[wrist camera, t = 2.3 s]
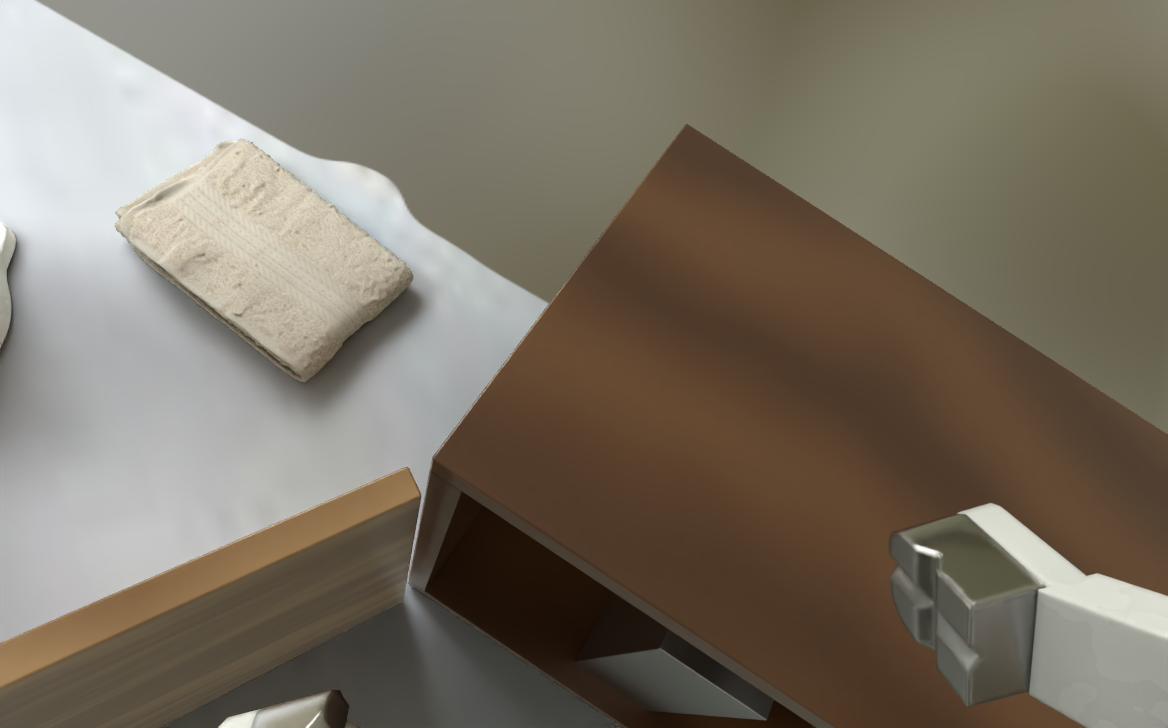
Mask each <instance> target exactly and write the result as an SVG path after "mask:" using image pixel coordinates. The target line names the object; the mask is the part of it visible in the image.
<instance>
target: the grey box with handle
mask: <svg viewBox="0 0 1168 728" xmlns="http://www.w3.org/2000/svg"><path fill="white" fill-rule="evenodd" d="M575 662H576V663H578V664H579V665H581V666H582V667H584V668H585V669H587V670H588V671H590V672H591V673H593V674H594V675H596V676H597V677H599V678H600V679H602V680H603V681H605V682H606V683H608V684H609V685H611V686H612V687H614V688H615V689H617V690H618V691H620V692H621V693H622V694H624V695H625V696H627V697H628V698H630V699H631V700H633V701H634V702H636V703H637V704H639V705H640V706H642V707H643V708H645V709H646V710H648V711H657V712H670V713H682V714H694V715H707V716H719V717H731V718H743V719H756V720H767V718H768V715H769V712H770V710H771V707H772V704H773V701H774V699H773V698H771V697H770V696H768V695H767V694H765V693H764V692H762V691H761V690H759V689H758V688H756V687H755V686H753V685H752V684H750V683H749V682H747V681H746V680H744V679H743V678H741V677H740V676H738V675H737V674H735V673H734V672H732V671H731V670H729V669H728V668H726V667H725V666H723V665H722V664H720V663H719V662H717V661H716V660H714V659H713V658H711V657H710V656H708V655H707V654H705V653H704V652H702V651H701V650H699V649H698V648H696V647H695V646H693V645H692V644H690V643H689V642H687V641H686V640H684V639H683V638H681V637H680V636H678V635H677V634H675V633H674V632H672V631H671V630H669V629H668V628H666V627H665V626H663V625H662V624H660V623H659V622H657V621H656V620H654V619H653V618H651V617H650V616H648V615H647V614H645V613H644V612H642V611H641V610H639V609H638V608H636V607H635V606H633V605H632V604H630V603H629V602H627V601H626V600H624V599H623V598H621V597H620V596H618V595H617V594H615V593H614V592H612V593H611V595H610V596H609V598H608V600H607V602H606V604H605V606H604V608H603V610H602V612H601V614H600V615H599V617H598V619H597V621H596V623H595V625H594V627H593V629H592V631H591V633H590V634H589V636H588V638H587V640H586V642H585V644H584V646H583V648H582V650H581V652H580V653H579V655H578V657H577V659H576V661H575Z"/></svg>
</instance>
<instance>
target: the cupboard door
mask: <svg viewBox="0 0 1168 728" xmlns="http://www.w3.org/2000/svg"><path fill="white" fill-rule="evenodd" d="M420 500H421V493H420V491H419V489H418V486H417V484H416V482H415V480H414V478H413V476H412V474H411V471H410V469H409V468H408V467H405V468H402V469H400V470H398V471H396V472H393V473H391V474H389V475H386V476H384V477H382V478H379V479H377V480H375V481H373V482H370V483H368V484H366V485H363V486H361V487H359V488H356V489H354V490H352V491H349V492H347V493H345V494H343V495H340V496H338V497H336V498H333V499H331V500H329V501H326V502H324V503H322V504H320V505H317V506H315V507H313V508H310V509H308V510H306V511H303V512H301V513H299V514H297V515H294V516H292V517H290V518H287V519H285V520H283V521H280V522H278V523H276V524H273V525H271V526H269V527H267V528H264V529H262V530H260V531H257V532H255V533H253V534H250V535H248V536H246V537H244V538H241V539H239V540H237V541H234V542H232V543H230V544H227V545H225V546H223V547H220V548H218V549H216V550H214V551H211V552H209V553H207V554H204V555H202V556H200V557H197V558H195V559H193V560H191V561H188V562H186V563H184V564H181V565H179V566H177V567H174V568H172V569H170V570H168V571H165V572H163V573H161V574H158V575H156V576H154V577H151V578H149V579H147V580H144V581H142V582H140V583H138V584H135V585H133V586H131V587H128V588H126V589H124V590H121V591H119V592H117V593H115V594H112V595H110V596H108V597H105V598H103V599H101V600H98V601H96V602H94V603H91V604H89V605H87V606H85V607H82V608H80V609H78V610H75V611H73V612H71V613H68V614H66V615H64V616H62V617H59V618H57V619H55V620H52V621H50V622H48V623H45V624H43V625H41V626H38V627H36V628H34V629H32V630H29V631H27V632H25V633H22V634H20V635H18V636H15V637H13V638H11V639H9V640H6V641H4V642H2V643H0V728H161V727H163V726H165V725H166V724H168V723H170V722H172V721H174V720H176V719H178V718H180V717H182V716H184V715H186V714H188V713H190V712H191V711H193V710H195V709H197V708H199V707H201V706H203V705H205V704H207V703H209V702H211V701H213V700H214V699H216V698H218V697H220V696H222V695H224V694H226V693H228V692H230V691H232V690H234V689H236V688H238V687H239V686H241V685H243V684H245V683H247V682H249V681H251V680H253V679H255V678H257V677H259V676H261V675H262V674H264V673H266V672H268V671H270V670H272V669H274V668H276V667H278V666H280V665H282V664H284V663H286V662H287V661H289V660H291V659H293V658H295V657H297V656H299V655H301V654H303V653H305V652H307V651H309V650H310V649H312V648H314V647H316V646H318V645H320V644H322V643H324V642H326V641H328V640H330V639H332V638H334V637H335V636H337V635H339V634H341V633H343V632H345V631H347V630H349V629H351V628H353V627H355V626H357V625H358V624H360V623H362V622H364V621H366V620H368V619H370V618H372V617H374V616H376V615H378V614H380V613H382V612H383V611H385V610H387V609H389V608H391V607H393V606H395V605H397V604H399V603H401V602H403V599H404V593H405V587H406V582H407V576H408V570H409V564H410V558H411V553H412V547H413V541H414V535H415V529H416V524H417V518H418V512H419V506H420Z"/></svg>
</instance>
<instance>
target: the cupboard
mask: <svg viewBox="0 0 1168 728" xmlns="http://www.w3.org/2000/svg"><path fill="white" fill-rule="evenodd" d="M989 503H993V504H996V505H999V506H1001V507H1002V508H1003V509H1005V510H1006V511H1007V512H1008V513H1009V514H1011V515H1012V516H1013V517H1014V518H1016V519H1017V520H1018V521H1019V522H1021V523H1022V524H1023V525H1024V526H1026V527H1027V528H1028V529H1029V530H1031V531H1032V532H1033V533H1034V534H1035V535H1037V536H1038V537H1039V538H1040V539H1042V540H1043V541H1044V542H1045V543H1047V544H1048V545H1049V546H1050V547H1052V548H1053V549H1054V550H1055V551H1057V552H1058V553H1059V554H1060V555H1061V556H1063V557H1064V558H1065V559H1066V560H1068V561H1069V562H1070V563H1071V564H1073V565H1074V566H1075V567H1076V568H1078V569H1079V570H1080V571H1081V572H1083V573H1084V574H1085V575H1086V576H1088V575H1092V574H1096V573H1098V574H1101V575H1104V576H1108V577H1111V578H1114V579H1117V580H1120V581H1123V582H1126V583H1129V584H1132V585H1135V586H1138V587H1141V588H1144V589H1148V590H1151V591H1154V592H1157V593H1160V594H1163V595H1166V596H1168V434H1166V433H1164V432H1163V431H1162V430H1160V429H1158V428H1157V427H1155V426H1154V425H1152V424H1151V423H1149V422H1147V421H1146V420H1144V419H1143V418H1141V417H1140V416H1138V415H1137V414H1135V413H1134V412H1132V411H1131V410H1129V409H1127V408H1126V407H1124V406H1123V405H1121V404H1120V403H1118V402H1116V401H1115V400H1114V399H1112V398H1110V397H1109V396H1107V395H1106V394H1104V393H1103V392H1101V391H1100V390H1098V389H1097V388H1095V387H1093V386H1092V385H1090V384H1089V383H1087V382H1086V381H1084V380H1082V379H1081V378H1079V377H1078V376H1076V375H1075V374H1073V373H1072V372H1070V371H1069V370H1067V369H1066V368H1064V367H1062V366H1061V365H1059V364H1058V363H1056V362H1055V361H1053V360H1052V359H1050V358H1048V357H1047V356H1045V355H1044V354H1042V353H1041V352H1039V351H1038V350H1036V349H1035V348H1033V347H1032V346H1030V345H1028V344H1027V343H1025V342H1024V341H1022V340H1021V339H1019V338H1018V337H1016V336H1014V335H1013V334H1011V333H1010V332H1008V331H1007V330H1005V329H1004V328H1002V327H1001V326H999V325H997V324H996V323H994V322H993V321H991V320H990V319H988V318H987V317H985V316H984V315H982V314H980V313H979V312H977V311H976V310H974V309H973V308H971V307H970V306H968V305H967V304H965V303H963V302H962V301H960V300H959V299H957V298H956V297H954V296H953V295H951V294H950V293H948V292H946V291H945V290H943V289H942V288H940V287H939V286H937V285H936V284H934V283H933V282H931V281H929V280H928V279H926V278H925V277H923V276H922V275H920V274H919V273H917V272H915V271H914V270H912V269H911V268H909V267H908V266H906V265H905V264H903V263H901V262H900V261H898V260H897V259H895V258H894V257H892V256H891V255H889V254H888V253H886V252H884V251H883V250H881V249H880V248H878V247H877V246H875V245H874V244H872V243H870V242H869V241H867V240H866V239H864V238H863V237H861V236H860V235H858V234H857V233H855V232H853V231H852V230H851V229H849V228H847V227H846V226H844V225H843V224H841V223H840V222H838V221H837V220H835V219H833V218H832V217H830V216H829V215H827V214H826V213H824V212H823V211H821V210H820V209H818V208H816V207H815V206H813V205H812V204H810V203H809V202H807V201H806V200H804V199H803V198H801V197H799V196H798V195H796V194H795V193H793V192H792V191H790V190H789V189H787V188H786V187H784V186H782V185H781V184H779V183H778V182H776V181H774V180H773V179H772V178H770V177H769V176H767V175H765V174H764V173H762V172H761V171H759V170H758V169H756V168H755V167H753V166H751V165H750V164H748V163H747V162H745V161H744V160H742V159H741V158H739V157H738V156H736V155H734V154H733V153H731V152H729V151H728V150H727V149H725V148H724V147H722V146H721V145H719V144H717V143H716V142H714V141H713V140H711V139H710V138H708V137H707V136H705V135H703V134H702V133H700V132H699V131H697V130H696V129H694V128H693V127H691V126H689V125H688V124H686V125H685V126H684V127H683V128H682V130H681V131H680V132H679V134H678V135H677V136H676V138H675V139H674V140H673V141H672V143H671V144H670V145H669V147H668V148H667V149H666V151H665V152H664V153H663V155H662V156H661V157H660V159H659V160H658V161H657V163H656V164H655V165H654V167H653V168H652V169H651V170H650V172H649V173H648V174H647V176H646V177H645V178H644V180H643V181H642V182H641V184H640V185H639V186H638V188H637V189H636V190H635V191H634V193H633V194H632V195H631V197H630V198H629V199H628V201H627V202H626V203H625V205H624V206H623V207H622V209H621V210H620V211H619V213H618V214H617V215H616V216H615V218H614V219H613V221H612V222H611V223H610V225H609V226H608V227H607V228H606V230H605V231H604V232H603V234H602V235H601V236H600V238H599V239H598V240H597V242H596V243H595V244H594V245H593V247H592V248H591V249H590V251H589V252H588V253H587V255H586V256H585V257H584V259H583V260H582V261H581V263H580V264H579V265H578V266H577V268H576V269H575V271H574V272H573V273H572V274H571V276H570V277H569V278H568V280H567V281H566V282H565V284H564V285H563V286H562V288H561V289H560V291H558V293H557V294H556V296H555V297H554V298H553V300H552V301H551V302H550V303H549V305H548V306H547V307H546V309H545V310H544V311H543V313H542V314H541V315H540V316H539V318H538V319H537V320H536V322H535V323H534V324H533V326H532V327H531V328H530V330H529V331H528V332H527V334H526V335H525V336H524V338H523V339H522V340H521V341H520V343H519V344H518V345H517V347H516V348H515V349H514V351H513V352H512V353H511V355H510V356H509V357H508V359H507V360H506V361H505V363H504V364H503V365H502V366H501V368H500V369H499V370H498V372H497V373H496V374H495V376H494V377H493V378H492V380H491V381H490V382H489V384H488V385H487V386H486V388H485V389H484V390H483V391H482V393H481V394H480V395H479V397H478V398H477V399H476V401H475V402H474V403H473V405H472V406H471V407H470V409H469V410H468V411H467V413H466V414H465V415H464V416H463V418H462V419H461V420H460V422H459V423H458V424H457V426H456V427H455V428H454V430H453V431H452V432H451V434H450V435H449V436H448V438H447V439H446V440H445V441H444V443H443V444H442V445H441V447H440V448H439V449H438V451H437V452H436V453H435V455H434V456H433V458H432V463H431V468H430V472H429V477H428V482H427V488H426V493H425V498H424V503H423V509H422V514H421V519H420V524H419V530H418V535H417V540H416V545H415V550H414V556H413V561H412V566H411V571H410V577H409V582H408V584H410V585H411V586H413V587H414V588H416V589H417V590H419V591H420V592H421V593H423V594H424V595H426V596H427V597H429V598H430V599H432V600H433V601H435V602H436V603H438V604H439V605H441V606H442V607H444V608H445V609H447V610H448V611H450V612H451V613H453V614H454V615H456V616H457V617H459V618H460V619H462V620H463V621H465V622H466V623H468V624H469V625H471V626H472V627H474V628H475V629H476V630H478V631H479V632H481V633H482V634H484V635H485V636H487V637H488V638H490V639H491V640H493V641H494V642H496V643H497V644H499V645H500V646H502V647H503V648H505V649H506V650H508V651H509V652H511V653H512V654H514V655H515V656H517V657H518V658H520V659H521V660H523V661H524V662H526V663H527V664H529V665H530V666H531V667H533V668H534V669H536V670H537V671H539V672H540V673H542V674H543V675H545V676H546V677H548V678H549V679H551V680H552V681H554V682H555V683H557V684H558V685H560V686H561V687H563V688H564V689H566V690H567V691H569V692H570V693H572V694H573V695H575V696H576V697H578V698H579V699H581V700H582V701H584V702H585V703H587V704H588V705H589V706H591V707H592V708H594V709H595V710H597V711H598V712H600V713H601V714H603V715H604V716H606V717H607V718H609V719H610V720H612V721H613V722H615V723H616V724H618V725H619V726H621V727H622V728H1086V727H1084V726H1082V725H1081V724H1079V723H1077V722H1075V721H1074V720H1072V719H1070V718H1068V717H1067V716H1065V715H1063V714H1061V713H1060V712H1058V711H1056V710H1054V709H1053V708H1051V707H1049V706H1047V705H1046V704H1044V703H1042V702H1040V701H1039V700H1037V699H1035V698H1033V697H1032V696H1030V695H1029V691H1028V692H1025V693H1021V694H1017V695H1013V696H1009V697H1006V698H1002V699H998V700H994V701H990V702H987V703H983V704H979V705H975V706H971V707H967V706H966V705H965V704H964V702H963V701H962V700H961V698H960V697H959V696H958V695H957V693H956V692H955V691H954V690H953V688H952V687H951V686H950V685H949V683H948V682H947V681H946V679H945V678H944V677H943V676H942V674H941V673H940V672H939V671H938V669H937V668H936V651H935V650H932V649H930V648H928V647H926V646H924V645H922V644H920V643H917V642H916V641H915V640H914V638H913V637H912V636H911V634H910V633H909V632H908V630H907V629H906V628H905V626H904V624H903V622H902V621H901V619H900V617H899V615H898V614H897V611H896V608H895V605H894V602H893V599H892V596H891V588H890V576H891V574H892V573H893V571H894V570H895V568H896V567H897V565H898V564H897V563H896V561H895V560H894V559H893V558H892V557H891V556H890V554H889V538H890V535H891V533H892V532H893V531H897V530H900V529H904V528H907V527H910V526H914V525H917V524H921V523H924V522H927V521H931V520H934V519H938V518H941V517H945V516H948V515H951V514H957V513H958V512H961V511H965V510H968V509H972V508H975V507H978V506H982V505H985V504H989ZM612 592H614V593H615V594H617V595H618V596H620V597H621V598H623V599H624V600H626V601H627V602H629V603H630V604H632V605H633V606H635V607H636V608H638V609H639V610H641V611H642V612H644V613H645V614H647V615H648V616H650V617H651V618H653V619H654V620H656V621H657V622H659V623H660V624H662V625H663V626H665V627H666V628H668V629H669V630H671V631H672V632H674V633H675V634H677V635H678V636H680V637H681V638H683V639H684V640H686V641H687V642H689V643H690V644H692V645H693V646H695V647H696V648H698V649H699V650H701V651H702V652H704V653H705V654H707V655H708V656H710V657H711V658H713V659H714V660H716V661H717V662H719V663H720V664H722V665H723V666H725V667H726V668H728V669H729V670H731V671H732V672H734V673H735V674H737V675H738V676H740V677H741V678H743V679H744V680H746V681H747V682H749V683H750V684H752V685H753V686H755V687H756V688H758V689H759V690H761V691H762V692H764V693H765V694H767V695H768V696H770V697H771V698H773V699H774V701H773V704H772V707H771V710H770V712H769V715H768V718H767V720H756V719H743V718H731V717H719V716H707V715H694V714H682V713H670V712H657V711H648V710H646V709H645V708H643V707H642V706H640V705H639V704H637V703H636V702H634V701H633V700H631V699H630V698H628V697H627V696H625V695H624V694H622V693H621V692H620V691H618V690H617V689H615V688H614V687H612V686H611V685H609V684H608V683H606V682H605V681H603V680H602V679H600V678H599V677H597V676H596V675H594V674H593V673H591V672H590V671H588V670H587V669H585V668H584V667H582V666H581V665H579V664H578V663H576V662H575V661H576V659H577V657H578V655H579V653H580V652H581V650H582V648H583V646H584V644H585V642H586V640H587V638H588V636H589V634H590V633H591V631H592V629H593V627H594V625H595V623H596V621H597V619H598V617H599V615H600V614H601V612H602V610H603V608H604V606H605V604H606V602H607V600H608V598H609V596H610V595H611V593H612Z"/></svg>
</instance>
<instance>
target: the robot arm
mask: <svg viewBox="0 0 1168 728" xmlns="http://www.w3.org/2000/svg"><path fill="white" fill-rule="evenodd" d="M15 245H16V237H15V235H14V233H13V232H12V231H11V230H10V229H9V228H8V227H6V226H5V225H4V224H3V223H1V222H0V348H1V346H2V344H3V342H4V340H5V337H6V335H7V332H8V328H9V325H10V320H11V297H10V292H9V287H8V283H7V268H8V266H9V263H10V261H11V258H12V255H13V253H14V249H15ZM889 554H890V556H891V557H892V558H893V559H894V560H895V561H896V563H897V564H898V565H897V567H896V568H895V570H894V571H893V573H892V574H891V576H890V588H891V596H892V599H893V602H894V605H895V608H896V611H897V614H898V615H899V617H900V619H901V621H902V622H903V624H904V626H905V628H906V629H907V630H908V632H909V633H910V634H911V636H912V637H913V638H914V640H915V641H916V642H917V643H920V644H922V645H924V646H926V647H928V648H930V649H932V650H935V651H936V668H937V669H938V671H939V672H940V673H941V674H942V676H943V677H944V678H945V679H946V681H947V682H948V683H949V685H950V686H951V687H952V688H953V690H954V691H955V692H956V693H957V695H958V696H959V697H960V698H961V700H962V701H963V702H964V704H965V705H966V706H967V707H971V706H975V705H979V704H983V703H987V702H990V701H994V700H998V699H1002V698H1006V697H1009V696H1013V695H1017V694H1021V693H1025V692H1028V691H1029V695H1030V696H1032V697H1033V698H1035V699H1037V700H1039V701H1040V702H1042V703H1044V704H1046V705H1047V706H1049V707H1051V708H1053V709H1054V710H1056V711H1058V712H1060V713H1061V714H1063V715H1065V716H1067V717H1068V718H1070V719H1072V720H1074V721H1075V722H1077V723H1079V724H1081V725H1082V726H1084V727H1086V728H1168V596H1166V595H1163V594H1160V593H1157V592H1154V591H1151V590H1148V589H1144V588H1141V587H1138V586H1135V585H1132V584H1129V583H1126V582H1123V581H1120V580H1117V579H1114V578H1111V577H1108V576H1104V575H1101V574H1098V573H1096V574H1092V575H1088V576H1086V575H1085V574H1084V573H1083V572H1081V571H1080V570H1079V569H1078V568H1076V567H1075V566H1074V565H1073V564H1071V563H1070V562H1069V561H1068V560H1066V559H1065V558H1064V557H1063V556H1061V555H1060V554H1059V553H1058V552H1057V551H1055V550H1054V549H1053V548H1052V547H1050V546H1049V545H1048V544H1047V543H1045V542H1044V541H1043V540H1042V539H1040V538H1039V537H1038V536H1037V535H1035V534H1034V533H1033V532H1032V531H1031V530H1029V529H1028V528H1027V527H1026V526H1024V525H1023V524H1022V523H1021V522H1019V521H1018V520H1017V519H1016V518H1014V517H1013V516H1012V515H1011V514H1009V513H1008V512H1007V511H1006V510H1005V509H1003V508H1002V507H1001V506H999V505H996V504H993V503H989V504H985V505H982V506H978V507H975V508H972V509H968V510H965V511H961V512H958V513H957V514H951V515H948V516H945V517H941V518H938V519H934V520H931V521H927V522H924V523H921V524H917V525H914V526H910V527H907V528H904V529H900V530H897V531H893V532H892V533H891V535H890V538H889ZM348 710H349V705H348V703H347V702H346V700H345V698H344V697H343V695H342V693H341V692H340V690H330V691H326V692H322V693H318V694H314V695H311V696H307V697H303V698H299V699H295V700H291V701H287V702H283V703H279V704H275V705H271V706H267V707H263V709H259V710H255V711H251V712H247V713H243V714H239V715H235V716H231V717H228V718H227V719H226V720H225V721H224V722H223V723H222V724H221V725H220V726H219V727H218V728H360V727H358V726H356V725H354V724H352V723H350V722H348V721H347V715H348Z"/></svg>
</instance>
